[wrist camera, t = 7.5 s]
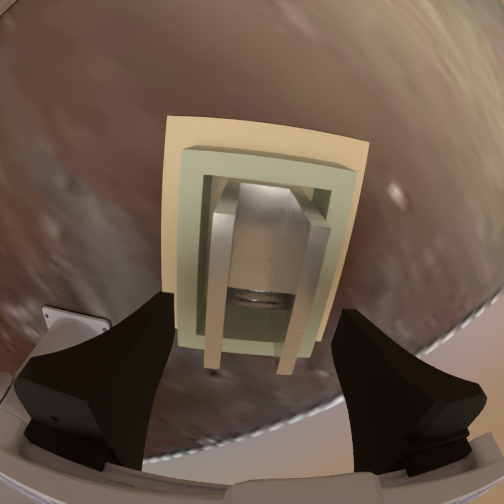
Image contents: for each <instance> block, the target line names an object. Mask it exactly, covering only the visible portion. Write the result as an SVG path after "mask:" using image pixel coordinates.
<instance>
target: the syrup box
mask: <svg viewBox="0 0 504 504" xmlns="http://www.w3.org/2000/svg"><path fill="white" fill-rule="evenodd" d="M16 1H17V0H0V16H1V15H2V14H3V13H4V12H5V11H6V10H7V9H8V8H9V7H10V6H11V5H12V4H13V3H14V2H16Z"/></svg>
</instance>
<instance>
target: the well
mask: <svg viewBox="0 0 504 504" xmlns="http://www.w3.org/2000/svg"><path fill="white" fill-rule="evenodd" d="M368 148H369V142H365V141H361V140H357V139H353V138H348V137H344V136H339V135H334V134H329V133H324V132H319V131H313V130H308V129H302V128H296V127H289V126H283V125H276V124H268V123H260V122H252V121H242V120H232V119H220V118H206V117H187V116H167V126H166V137H165V150H164V166H163V185H162V218H161V265H162V292H169V293H174V312H175V328H177V329H178V346H182V347H189V348H196V349H204V348H205V326H206V307H207V290H208V275H209V261H210V248H211V235H212V223H213V213H214V210H215V208H216V206H217V203H218V201H219V199H220V197H221V194H222V192H223V190H224V188H225V185H226V183H227V181H228V179H229V178H234V179H242V180H251V181H259V182H266V183H274V184H281V185H288V186H295V187H300V189H301V190H302V191H303V192H304V194H305V195H306V196H307V197H308V199H309V200H310V201H311V202H312V204H313V205H314V206H315V207H316V209H317V210H318V211H319V212H320V214H321V215H322V216H323V218H324V219H325V220H326V221H327V223H328V224H329V225H330V227H331V231H330V235H329V240H328V244H327V248H326V253H325V257H324V261H323V265H322V269H321V273H320V277H319V281H318V285H317V289H316V292H315V296H314V300H313V304H312V307H311V311H310V314H309V318H308V322H307V325H306V328H305V332H304V335H303V339H302V342H301V345H300V349H299V352H298V355H297V357H307V358H310V356H311V353H312V349H313V346H314V343H315V341H321V339H322V336H323V333H324V330H325V327H326V324H327V320H328V317H329V314H330V311H331V307H332V304H333V301H334V297H335V294H336V290H337V287H338V283H339V280H340V276H341V272H342V269H343V265H344V261H345V257H346V253H347V249H348V245H349V241H350V237H351V233H352V229H353V224H354V220H355V216H356V211H357V206H358V202H359V197H360V192H361V187H362V182H363V177H364V171H365V166H366V160H367V154H368ZM222 352H231V353H242V354H254V355H267V356H274V346H273V335H272V325H271V314H270V309H263V308H253V307H243V306H234V305H227V309H226V317H225V326H224V334H223V343H222Z"/></svg>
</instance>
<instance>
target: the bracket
mask: <svg viewBox="0 0 504 504" xmlns="http://www.w3.org/2000/svg"><path fill="white" fill-rule="evenodd" d="M330 231H331V227H330V225H329V224H328V223H327V221H326V220H325V219H324V218H323V216H322V215H321V214H320V212H319V211H318V210H317V209H316V207H315V206H314V205H313V204H312V202H311V201H310V200H309V199H308V197H307V196H306V195H305V194H304V192H303V191H302V190H301V189H300V187H295V186H288V185H281V184H274V183H266V182H259V181H251V180H242V179H234V178H229V179H228V181H227V183H226V185H225V188H224V190H223V192H222V194H221V197H220V199H219V201H218V203H217V206H216V208H215V210H214V213H213V223H212V235H211V248H210V261H209V275H208V290H207V307H206V326H205V348H204V368H212V369H220V360H221V351H222V343H223V334H224V326H225V317H226V309H227V305H234V306H243V307H253V308H263V309H270V314H271V325H272V335H273V346H274V356H275V367H276V374H283V375H291V374H292V371H293V368H294V365H295V362H296V358H297V355H298V352H299V349H300V345H301V342H302V339H303V335H304V332H305V328H306V325H307V322H308V318H309V314H310V311H311V307H312V304H313V300H314V296H315V292H316V289H317V285H318V281H319V277H320V273H321V269H322V265H323V261H324V257H325V253H326V248H327V244H328V240H329V235H330Z"/></svg>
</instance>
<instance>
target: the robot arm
mask: <svg viewBox="0 0 504 504" xmlns="http://www.w3.org/2000/svg"><path fill="white" fill-rule="evenodd" d="M42 311H43V314H44V318H45V321H46V324H47V327H48V331H47V332H46V334H45V335H44V336H43V337H42V339H41V340H40V341H39V343H38V344H37V345H36V347H35V348H34V349H33V351H32V352H31V353H30V355H29V356H28V357H27V359H26V360H25V362H24V363H23V364H22V366H21V367H20V369H19V370H18V371H17V373H16V374H15V376H13V377H12V376H11V375H10V374H9V373H8V372H6V373H1V372H0V504H467V503H469V502H471V501H473V500H475V499H476V498H477V497H479V496H480V495H482V494H483V493H485V492H486V491H487V490H489V489H490V488H492V487H493V486H494V485H496V484H497V483H498V482H499V481H500V480H502V479H503V478H504V457H503V456H502V453H501V451H500V449H499V447H498V445H497V444H496V442H495V440H494V438H493V436H492V434H491V433H486V434H484V435H482V436H479V437H477V438H475V439H473V440H472V441H470V442H468V440H467V438H466V437H468V436H469V434H470V433H469V431H468V429H467V427H468V426H469V425H470V424H471V423H472V422H473V421H474V419H475V418H476V417H477V416H478V415H479V414H480V412H481V411H482V410H483V408H484V406H485V404H486V400H487V397H486V395H485V393H484V392H483V390H482V389H481V387H480V385H479V384H477V383H474V382H471V381H467V380H464V379H461V378H458V377H455V376H453V375H450V374H447V373H445V372H443V371H441V370H439V369H437V368H435V367H433V366H431V365H429V364H427V363H425V362H423V361H422V360H420V359H418V358H417V357H415V356H414V355H412V354H411V353H409V352H408V351H406V350H405V349H403V348H402V347H401V346H400V345H398V344H397V343H396V342H394V341H393V340H392V339H391V338H389V337H388V336H387V335H386V334H384V333H383V332H382V331H381V330H380V329H379V328H378V327H376V326H375V325H374V324H373V323H372V322H371V321H369V320H368V319H367V318H366V317H365V316H364V315H362V314H361V313H360V312H359V311H357V310H356V309H343V310H342V313H341V316H340V320H339V322H338V325H337V328H336V331H335V334H334V337H333V340H332V343H331V348H332V355H333V361H334V365H335V369H336V372H337V375H338V378H339V382H340V385H341V388H342V391H343V394H344V398H345V401H346V405H347V409H348V413H349V419H350V426H351V433H352V442H353V455H354V473H347V474H340V475H331V476H321V477H308V478H287V479H259V480H248V481H244V482H240V483H236V484H234V485H225V484H213V483H205V482H196V481H189V480H182V479H176V478H170V477H165V476H160V475H155V474H150V473H146V472H141V471H142V462H143V454H144V447H145V441H146V435H147V429H148V424H149V418H150V414H151V409H152V404H153V400H154V396H155V393H156V390H157V387H158V384H159V382H160V379H161V376H162V373H163V371H164V368H165V365H166V363H167V360H168V357H169V354H170V352H171V348H172V343H173V339H174V334H175V312H174V293H169V292H162V291H160V292H159V293H157V294H156V295H155V296H154V297H152V298H151V299H150V300H149V301H147V302H146V303H145V304H144V305H143V306H141V307H140V308H139V309H138V310H136V311H135V312H134V313H132V314H131V315H130V316H128V317H127V318H125V319H124V320H123V321H121V322H120V323H118V324H117V325H115V326H114V327H112V328H111V327H110V323H109V322H108V321H107V320H105V319H100V318H95V317H91V316H86V315H82V314H77V313H73V312H69V311H64V310H60V309H56V308H52V307H48V306H44V307H43V309H42ZM105 328H106V329H107V330H106V329H105Z"/></svg>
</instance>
